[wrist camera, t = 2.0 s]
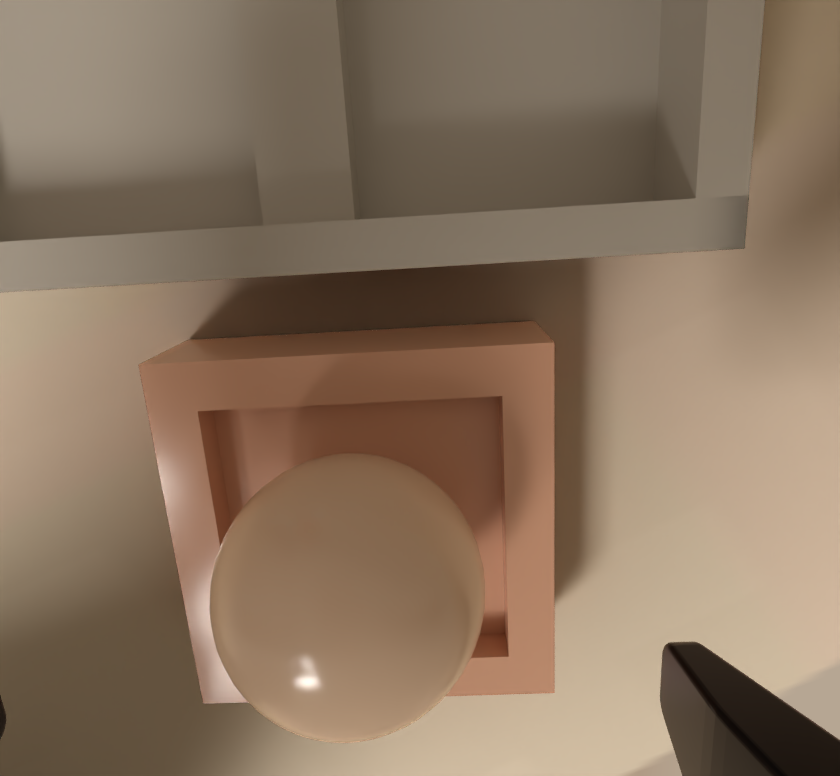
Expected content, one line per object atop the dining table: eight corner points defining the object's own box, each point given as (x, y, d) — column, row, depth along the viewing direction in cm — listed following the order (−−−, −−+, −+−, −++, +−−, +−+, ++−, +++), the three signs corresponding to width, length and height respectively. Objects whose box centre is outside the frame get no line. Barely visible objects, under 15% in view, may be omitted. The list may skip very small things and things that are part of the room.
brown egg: (480, 613, 13) (502, 815, 8) (270, 621, 13) (188, 821, 9) (472, 411, 11) (494, 527, 7) (241, 423, 12) (128, 543, 7)
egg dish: (536, 622, 14) (554, 692, 12) (236, 633, 15) (202, 704, 13) (534, 320, 12) (554, 342, 10) (187, 340, 13) (138, 364, 11)
